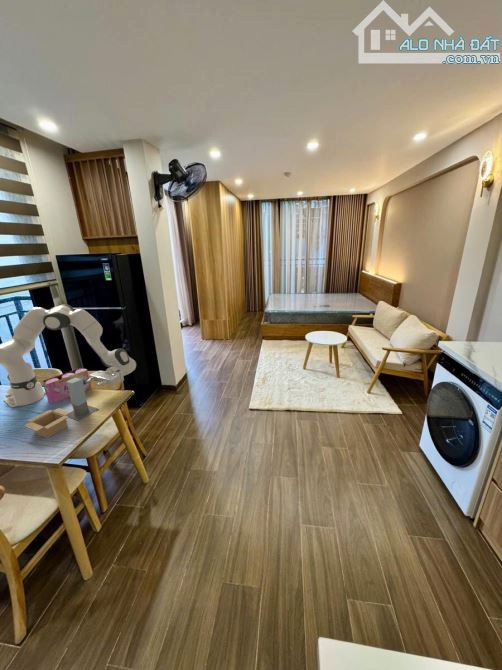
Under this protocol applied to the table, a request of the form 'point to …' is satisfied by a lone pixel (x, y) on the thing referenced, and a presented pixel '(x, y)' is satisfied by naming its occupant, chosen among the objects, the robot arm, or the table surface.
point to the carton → (49, 422)
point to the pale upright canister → (77, 396)
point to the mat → (79, 417)
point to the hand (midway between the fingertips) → (92, 383)
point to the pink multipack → (64, 384)
